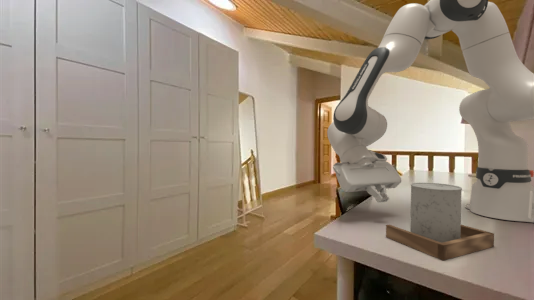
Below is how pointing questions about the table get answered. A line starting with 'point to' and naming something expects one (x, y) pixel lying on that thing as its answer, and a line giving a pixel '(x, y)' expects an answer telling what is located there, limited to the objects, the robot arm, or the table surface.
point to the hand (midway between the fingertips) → (384, 200)
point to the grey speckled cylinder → (436, 211)
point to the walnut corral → (466, 244)
